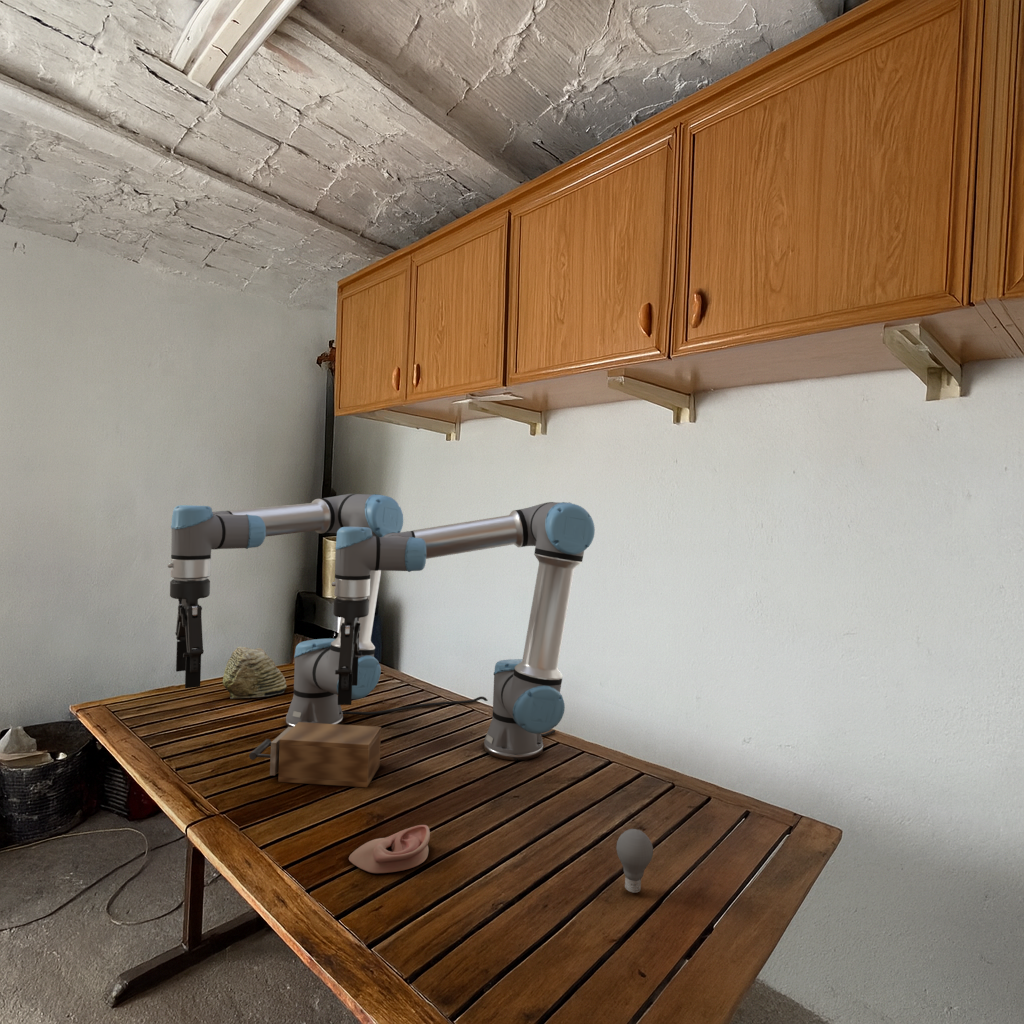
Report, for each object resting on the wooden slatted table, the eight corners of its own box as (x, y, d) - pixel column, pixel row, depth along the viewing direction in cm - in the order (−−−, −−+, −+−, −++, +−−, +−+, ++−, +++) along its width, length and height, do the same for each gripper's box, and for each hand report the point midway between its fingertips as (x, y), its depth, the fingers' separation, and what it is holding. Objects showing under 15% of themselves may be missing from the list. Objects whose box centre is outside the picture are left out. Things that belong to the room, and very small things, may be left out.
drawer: (246, 773, 141) (247, 741, 141) (265, 756, 151) (266, 725, 150) (351, 780, 140) (353, 747, 140) (364, 762, 150) (365, 731, 149)
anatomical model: (341, 845, 108) (369, 813, 120) (340, 868, 108) (368, 833, 120) (414, 857, 106) (436, 823, 117) (413, 880, 106) (435, 844, 117)
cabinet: (278, 781, 140) (279, 739, 140) (297, 761, 151) (298, 721, 151) (366, 787, 139) (368, 744, 139) (379, 766, 150) (381, 726, 150)
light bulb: (610, 879, 108) (613, 822, 108) (644, 879, 109) (647, 822, 109) (619, 902, 102) (622, 840, 102) (655, 901, 103) (658, 840, 103)
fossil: (218, 695, 195) (220, 647, 195) (278, 685, 208) (279, 640, 207) (228, 703, 189) (230, 653, 188) (289, 692, 201) (290, 645, 201)
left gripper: (163, 572, 142) (160, 666, 142) (178, 587, 121) (175, 697, 122) (200, 570, 146) (197, 662, 146) (221, 585, 125) (217, 692, 126)
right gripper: (340, 588, 150) (337, 678, 150) (325, 607, 125) (321, 713, 126) (373, 589, 151) (369, 678, 151) (364, 607, 126) (360, 713, 127)
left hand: (187, 678), depth 134 cm, fingers open, 13 cm apart
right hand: (348, 694), depth 138 cm, fingers open, 13 cm apart
